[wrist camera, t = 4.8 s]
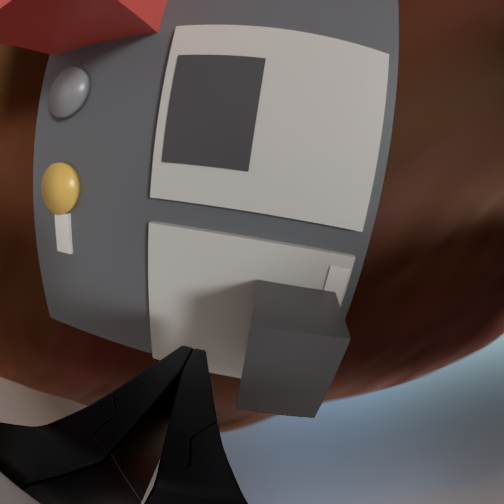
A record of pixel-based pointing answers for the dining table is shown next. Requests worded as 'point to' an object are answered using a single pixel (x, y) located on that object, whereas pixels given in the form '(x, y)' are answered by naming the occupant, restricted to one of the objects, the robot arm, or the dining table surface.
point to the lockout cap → (75, 22)
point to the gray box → (292, 350)
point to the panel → (212, 168)
